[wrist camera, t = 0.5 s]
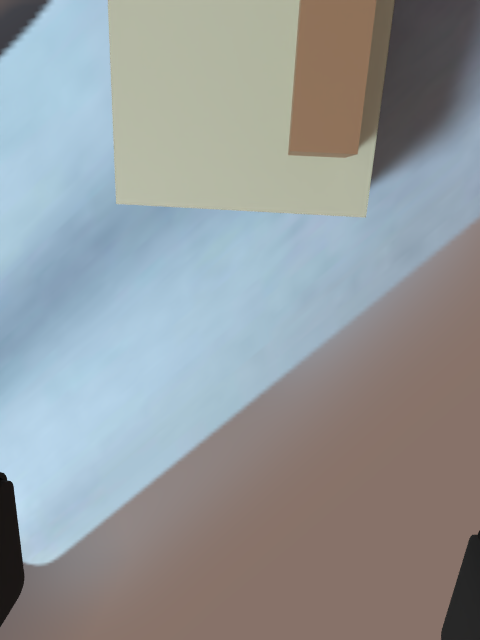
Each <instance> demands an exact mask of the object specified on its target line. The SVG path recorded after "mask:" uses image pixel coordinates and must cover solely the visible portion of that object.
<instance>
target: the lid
mask: <svg viewBox="0 0 480 640" xmlns="http://www.w3.org/2000/svg"><path fill="white" fill-rule="evenodd" d="M394 3H395V0H108V15H109V39H110V63H111V88H112V112H113V137H114V161H115V185H116V204H128V205H147V206H165V207H184V208H202V209H221V210H239V211H258V212H276V213H294V214H313V215H331V216H350V217H366V212H367V205H368V197H369V190H370V182H371V175H372V167H373V160H374V152H375V145H376V137H377V130H378V122H379V115H380V108H381V100H382V93H383V85H384V78H385V70H386V63H387V55H388V48H389V40H390V33H391V25H392V18H393V10H394Z"/></svg>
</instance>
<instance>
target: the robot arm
mask: <svg viewBox="0 0 480 640" xmlns="http://www.w3.org/2000/svg"><path fill="white" fill-rule="evenodd" d="M23 584H24V569H23V561H22V553H21V544H20V536H19V528H18V520H17V511H16V503H15V495H14V487H13V483H12V482H11V481H7V477H6V475H5V474H4V473H1V472H0V627H1V625H2V623H3V622H4V620H5V619H6V617H7V615H8V614H9V612H10V610H11V609H12V607H13V605H14V604H15V602H16V601H17V599H18V597H19V595H20V593H21V591H22V588H23ZM441 640H480V531H479V533H478V535H472V536H471V537H470V539H469V542H468V545H467V549H466V552H465V556H464V559H463V562H462V565H461V568H460V572H459V575H458V579H457V582H456V585H455V588H454V592H453V595H452V598H451V602H450V605H449V608H448V611H447V615H446V618H445V621H444V624H443V628H442V632H441Z"/></svg>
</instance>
